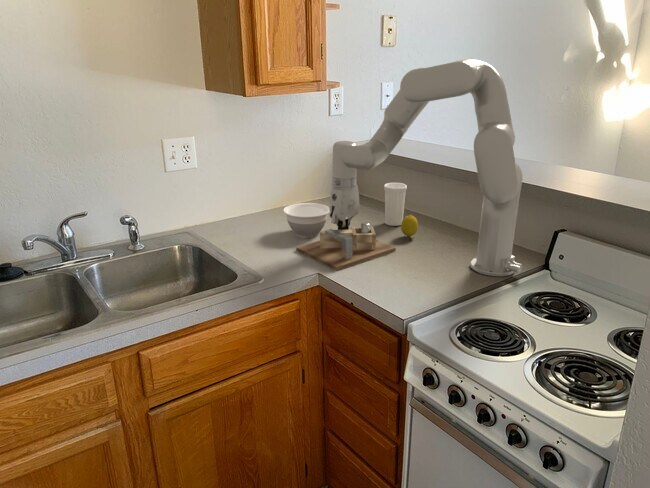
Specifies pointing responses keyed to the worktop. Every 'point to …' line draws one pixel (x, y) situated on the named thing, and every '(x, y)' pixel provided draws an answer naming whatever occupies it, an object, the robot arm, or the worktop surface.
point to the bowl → (306, 218)
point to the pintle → (365, 227)
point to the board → (334, 255)
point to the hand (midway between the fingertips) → (343, 237)
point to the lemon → (409, 225)
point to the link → (359, 239)
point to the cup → (394, 203)
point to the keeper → (345, 242)
